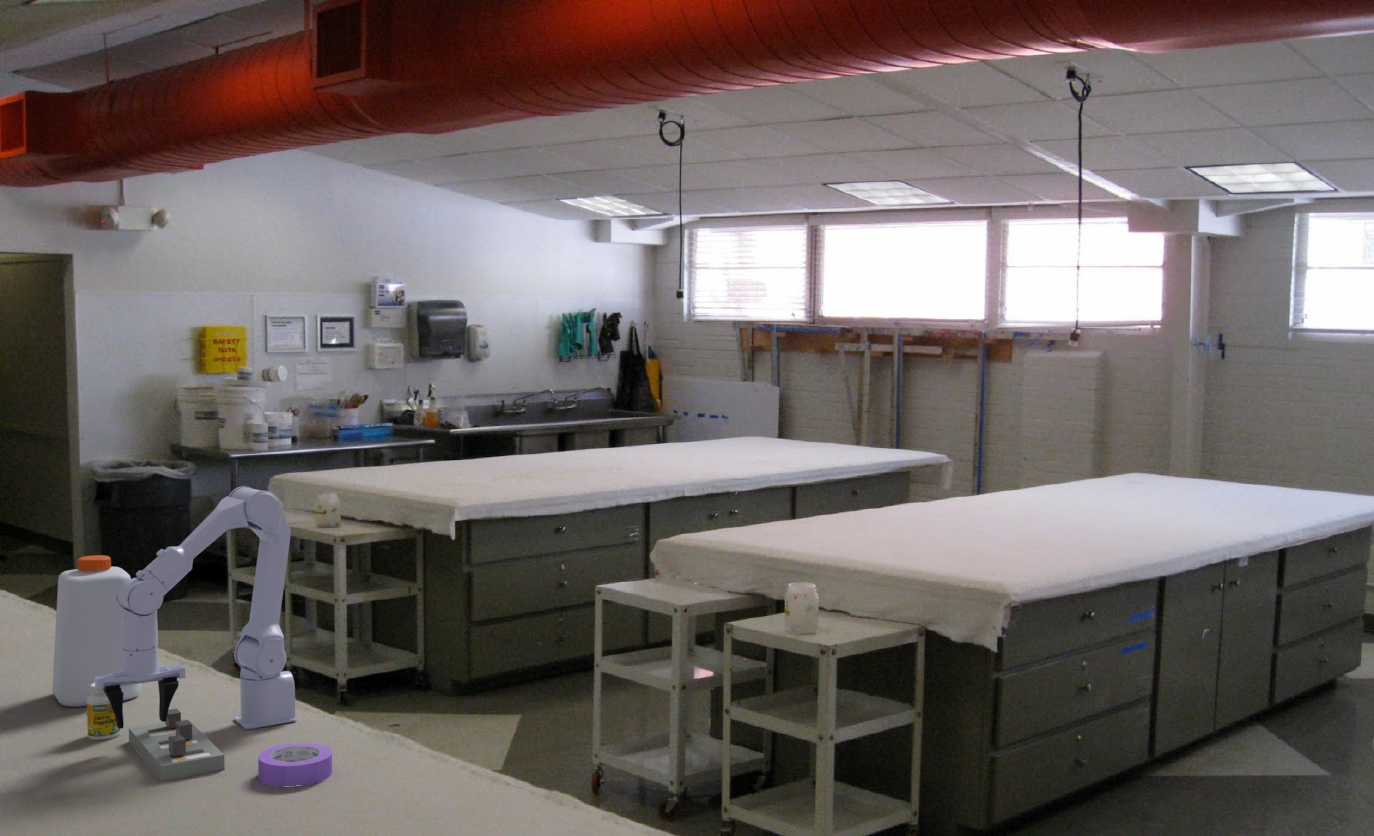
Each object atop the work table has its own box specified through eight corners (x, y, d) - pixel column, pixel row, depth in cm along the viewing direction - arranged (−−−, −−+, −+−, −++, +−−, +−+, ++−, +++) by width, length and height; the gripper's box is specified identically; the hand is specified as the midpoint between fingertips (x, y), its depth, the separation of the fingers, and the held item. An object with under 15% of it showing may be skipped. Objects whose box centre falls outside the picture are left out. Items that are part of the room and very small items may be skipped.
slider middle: (187, 733, 221) (187, 719, 221) (192, 738, 219) (192, 724, 219) (175, 735, 220) (175, 721, 220) (180, 740, 218) (179, 725, 218)
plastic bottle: (145, 699, 252) (142, 559, 250) (61, 711, 244) (58, 566, 242) (130, 681, 265) (127, 548, 263) (49, 692, 256) (46, 555, 254)
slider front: (181, 749, 213) (181, 734, 213) (185, 754, 211) (185, 739, 211) (168, 751, 212) (168, 736, 212) (173, 756, 210) (172, 741, 209)
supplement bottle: (117, 729, 233) (116, 678, 232) (122, 737, 228) (121, 684, 228) (85, 734, 230) (84, 682, 229) (90, 742, 225) (88, 689, 225)
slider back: (176, 722, 228) (176, 708, 228) (181, 726, 225) (180, 712, 225) (165, 723, 227) (164, 710, 227) (169, 728, 224) (169, 714, 224)
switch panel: (187, 731, 232) (187, 717, 231) (224, 769, 212) (224, 753, 212) (129, 741, 226) (128, 726, 226) (161, 780, 206) (161, 764, 206)
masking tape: (346, 768, 214) (346, 746, 213) (304, 792, 203) (303, 768, 202) (287, 760, 217) (287, 738, 217) (243, 783, 206) (242, 760, 206)
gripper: (177, 637, 230) (179, 711, 230) (90, 648, 221) (92, 724, 222) (187, 645, 224) (189, 720, 225) (98, 656, 215) (100, 735, 216)
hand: (141, 723), depth 223 cm, fingers open, 6 cm apart
